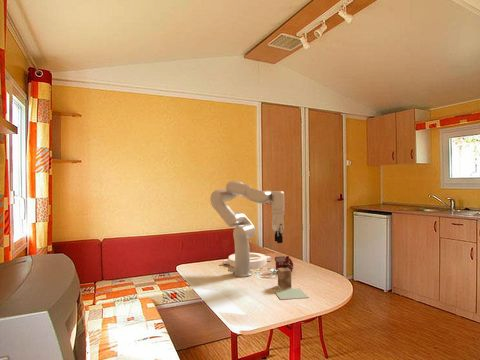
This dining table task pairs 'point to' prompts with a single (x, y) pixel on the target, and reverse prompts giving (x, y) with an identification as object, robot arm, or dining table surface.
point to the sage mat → (290, 294)
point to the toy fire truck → (283, 262)
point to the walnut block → (284, 278)
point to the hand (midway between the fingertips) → (278, 241)
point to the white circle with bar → (255, 260)
